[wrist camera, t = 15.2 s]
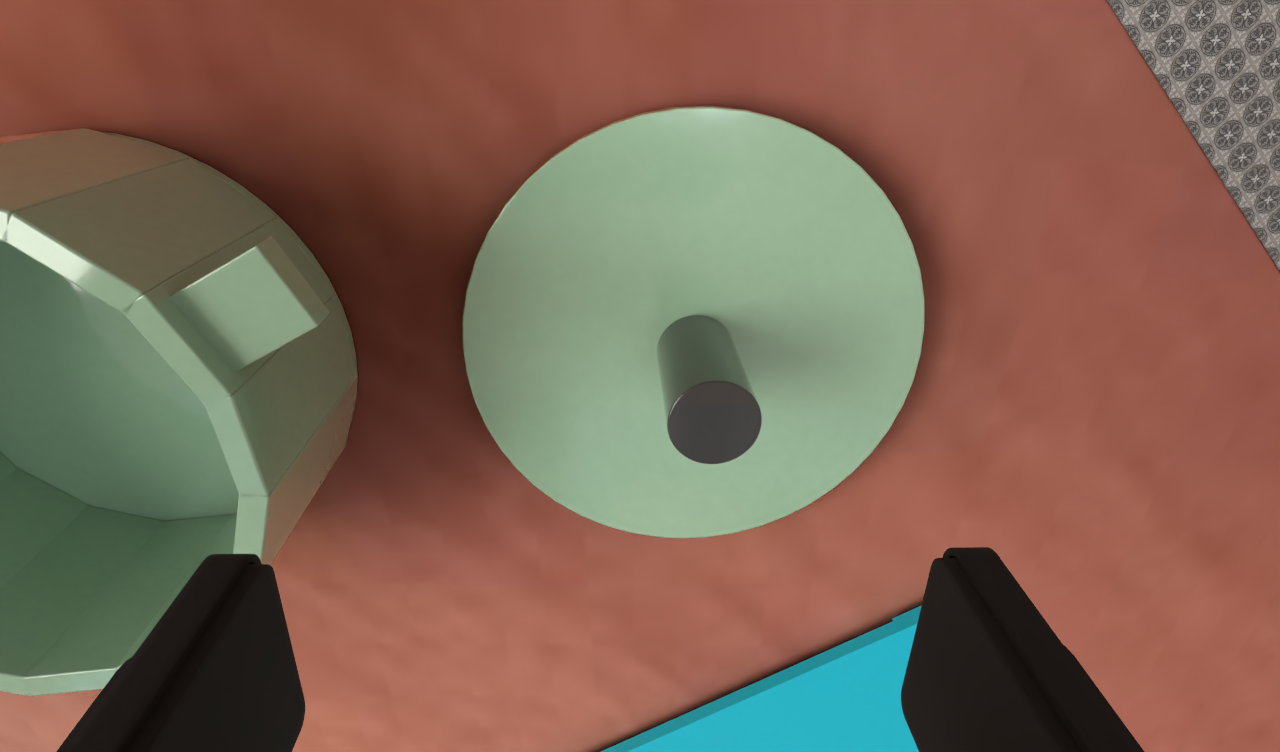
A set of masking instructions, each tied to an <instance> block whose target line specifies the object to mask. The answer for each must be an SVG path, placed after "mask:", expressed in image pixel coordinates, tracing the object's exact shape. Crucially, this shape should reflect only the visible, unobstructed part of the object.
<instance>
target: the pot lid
mask: <svg viewBox="0 0 1280 752" xmlns="http://www.w3.org/2000/svg"><path fill="white" fill-rule="evenodd" d="M924 326H925V322H924V291H923V285H922V278H921V271H920V267H919V264H918V260H917V257H916V254H915V250H914V247H913V244H912V241H911V239H910V237H909V234H908V232H907V230H906V228H905V226H904V224H903V222H902V220H901V217H900V215H899V214H898V212H897V211H896V209H895V208H894V206H893V205H892V203H891V202H890V200H889V199H888V197H887V196H886V194H885V193H884V191H883V190H882V189H881V188H880V187H879V186H878V184H877V183H876V182H875V181H874V180H873V179H872V178H871V177H870V176H869V175H868V174H867V172H866V171H865V170H864V169H863V168H862V167H861V166H860V165H858V164H857V163H856V162H855V161H853V160H852V159H851V158H850V157H849V156H847V155H846V154H845V153H844V152H842V151H841V150H840V149H839V148H837V147H836V146H834V145H832V144H831V143H829V142H827V141H826V140H824V139H822V138H821V137H819V136H817V135H815V134H814V133H812V132H810V131H809V130H807V129H804V128H802V127H799V126H797V125H795V124H792V123H790V122H787V121H785V120H782V119H780V118H777V117H774V116H770V115H766V114H762V113H758V112H754V111H750V110H746V109H740V108H730V107H720V106H711V105H710V106H683V107H672V108H666V109H661V110H655V111H650V112H644V113H640V114H637V115H634V116H631V117H628V118H625V119H622V120H619V121H616V122H612V123H610V124H608V125H606V126H604V127H601V128H599V129H597V130H595V131H593V132H591V133H589V134H587V135H585V136H583V137H581V138H579V139H578V140H576V141H575V142H573V143H571V144H570V145H568V146H567V147H565V148H564V149H562V150H561V151H559V152H558V153H556V154H555V155H553V156H552V157H551V158H550V159H549V160H547V161H546V162H545V163H544V164H543V165H542V166H541V167H540V168H538V169H537V170H536V171H535V172H534V173H533V174H532V175H530V176H529V177H528V178H527V179H526V181H525V182H524V183H523V184H522V185H521V186H520V188H519V189H518V190H517V191H516V192H515V193H514V195H513V196H512V197H511V198H510V199H509V200H508V202H507V203H506V204H505V206H504V208H503V209H502V211H501V212H500V214H499V215H498V217H497V218H496V220H495V222H494V223H493V225H492V226H491V228H490V229H489V231H488V233H487V235H486V238H485V240H484V242H483V244H482V246H481V249H480V251H479V253H478V255H477V257H476V259H475V263H474V266H473V269H472V273H471V276H470V280H469V283H468V286H467V291H466V298H465V305H464V312H463V353H464V360H465V367H466V374H467V377H468V381H469V384H470V388H471V391H472V395H473V398H474V401H475V403H476V406H477V408H478V410H479V412H480V414H481V417H482V419H483V421H484V423H485V426H486V427H487V429H488V430H489V432H490V434H491V435H492V437H493V438H494V440H495V442H496V443H497V445H498V446H499V448H500V449H501V450H502V452H503V453H504V454H505V455H506V457H507V458H508V459H509V460H510V461H511V463H512V464H513V465H514V466H515V468H516V469H517V470H518V471H519V472H521V473H522V474H523V475H524V476H525V477H526V478H527V479H528V480H529V481H530V482H531V483H532V484H533V485H534V486H535V487H537V488H538V489H539V490H541V491H542V492H544V493H545V494H546V495H548V496H549V497H550V498H552V499H553V500H555V501H556V502H557V503H559V504H561V505H563V506H565V507H566V508H568V509H570V510H572V511H573V512H575V513H577V514H579V515H581V516H583V517H586V518H588V519H591V520H593V521H595V522H598V523H600V524H603V525H605V526H609V527H612V528H616V529H619V530H623V531H626V532H630V533H636V534H642V535H648V536H654V537H668V538H698V537H712V536H718V535H725V534H731V533H736V532H740V531H744V530H748V529H751V528H755V527H759V526H762V525H765V524H767V523H770V522H772V521H775V520H778V519H780V518H783V517H785V516H787V515H789V514H791V513H793V512H795V511H797V510H799V509H801V508H803V507H805V506H807V505H809V504H811V503H812V502H814V501H815V500H817V499H818V498H820V497H821V496H823V495H824V494H826V493H827V492H829V491H830V490H832V489H833V488H834V487H836V486H837V485H838V484H839V483H840V482H842V481H843V480H844V479H845V478H846V477H848V476H849V475H850V474H851V473H852V472H854V471H855V470H856V468H857V467H858V466H859V465H860V464H861V463H862V462H863V461H864V460H865V459H866V458H867V457H868V456H869V455H870V454H871V453H872V452H873V450H874V449H875V448H876V446H877V445H878V444H879V442H880V441H881V440H882V438H883V437H884V436H885V434H886V433H887V432H888V431H889V429H890V427H891V425H892V424H893V422H894V420H895V419H896V417H897V415H898V413H899V412H900V410H901V408H902V406H903V404H904V402H905V399H906V397H907V395H908V392H909V390H910V388H911V385H912V383H913V380H914V377H915V373H916V369H917V366H918V362H919V359H920V355H921V348H922V341H923V334H924Z"/></svg>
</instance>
